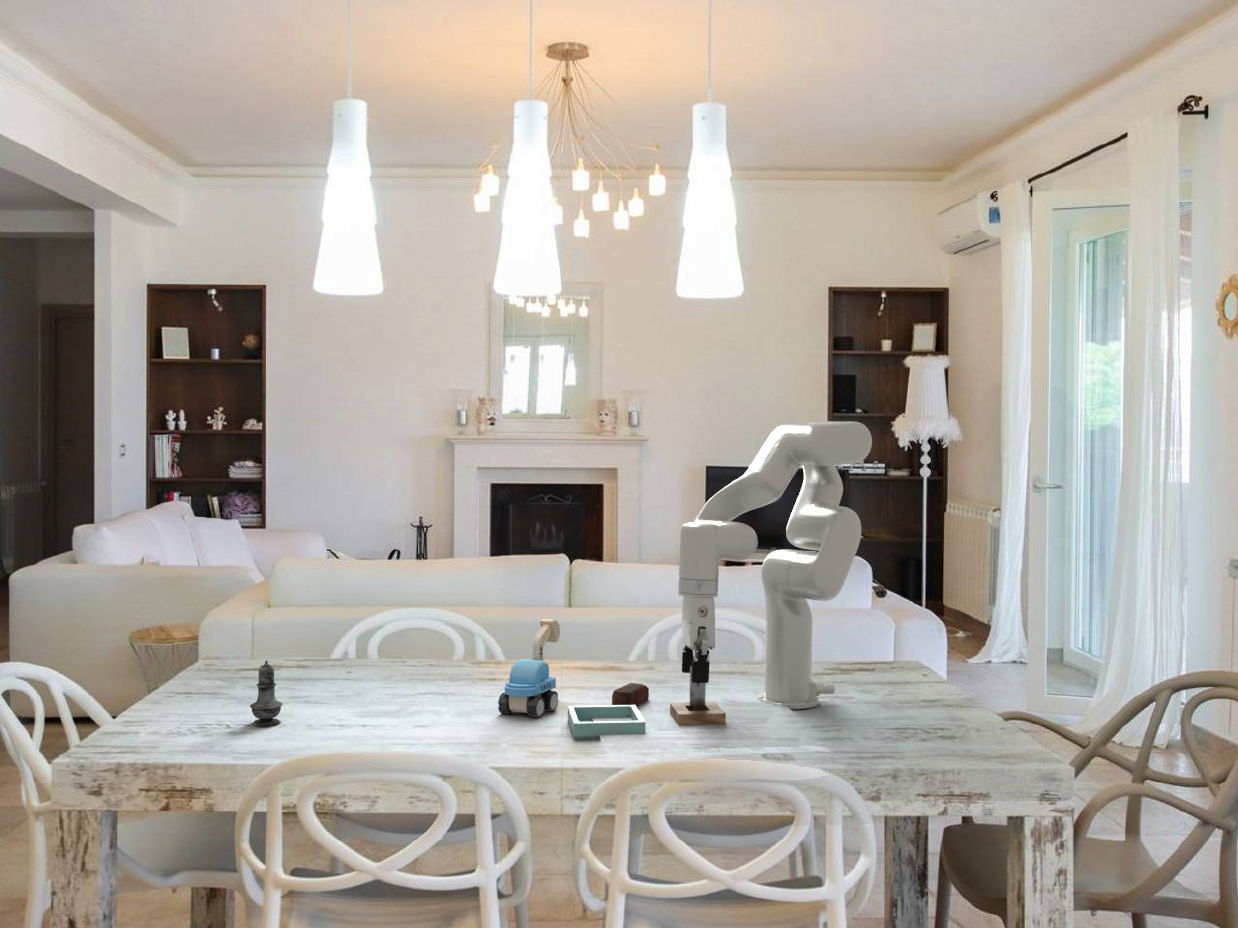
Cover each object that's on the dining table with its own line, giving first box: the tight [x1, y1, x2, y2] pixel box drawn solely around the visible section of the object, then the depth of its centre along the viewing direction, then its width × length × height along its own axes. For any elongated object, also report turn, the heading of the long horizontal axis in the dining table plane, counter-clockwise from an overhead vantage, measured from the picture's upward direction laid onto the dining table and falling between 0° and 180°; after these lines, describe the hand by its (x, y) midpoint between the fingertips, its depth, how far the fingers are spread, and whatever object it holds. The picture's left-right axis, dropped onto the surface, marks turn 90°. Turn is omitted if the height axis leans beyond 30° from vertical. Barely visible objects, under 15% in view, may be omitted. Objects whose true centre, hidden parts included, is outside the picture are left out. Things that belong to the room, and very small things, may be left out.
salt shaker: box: [249, 659, 283, 728], centre depth 217 cm, size 6×6×12 cm
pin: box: [689, 665, 707, 711], centre depth 221 cm, size 3×3×10 cm
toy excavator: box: [497, 618, 561, 718], centre depth 231 cm, size 9×17×17 cm, turn 155°
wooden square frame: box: [669, 701, 727, 726], centre depth 221 cm, size 9×9×3 cm
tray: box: [567, 704, 646, 741], centre depth 216 cm, size 13×13×3 cm
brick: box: [611, 682, 650, 708], centre depth 232 cm, size 11×4×5 cm, turn 158°
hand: (694, 677), depth 220 cm, fingers open, 9 cm apart
